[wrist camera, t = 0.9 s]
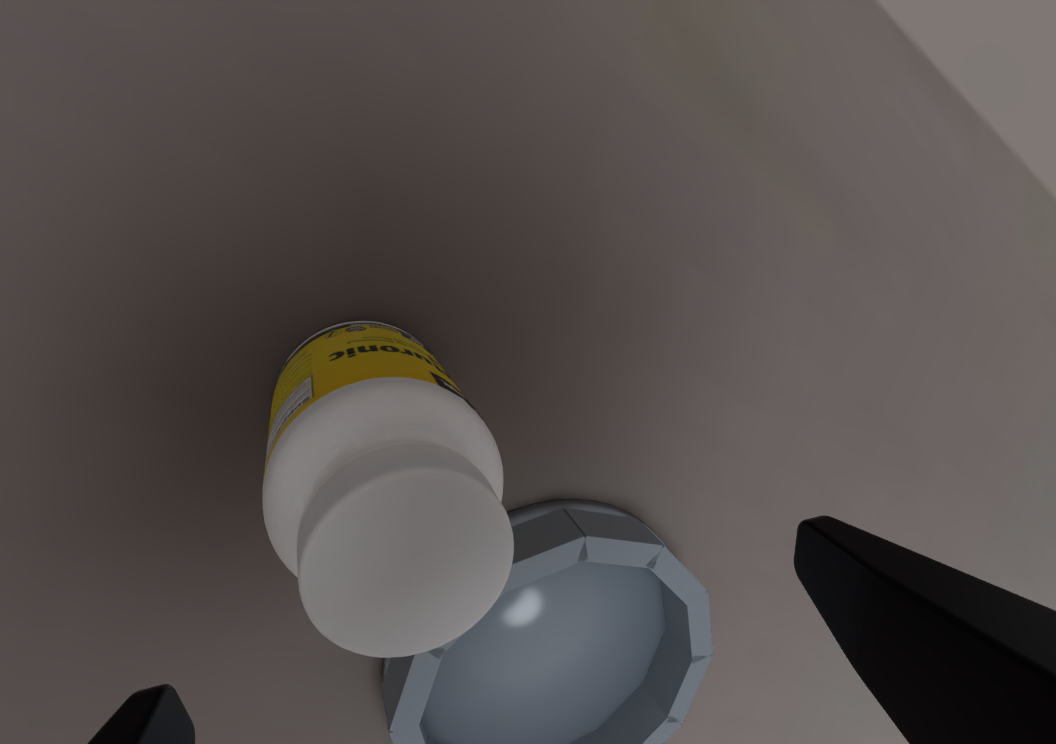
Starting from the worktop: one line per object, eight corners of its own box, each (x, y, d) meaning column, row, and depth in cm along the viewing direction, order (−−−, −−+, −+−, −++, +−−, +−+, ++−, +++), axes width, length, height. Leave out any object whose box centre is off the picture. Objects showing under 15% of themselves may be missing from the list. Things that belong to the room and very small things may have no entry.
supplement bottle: (470, 359, 21) (598, 495, 12) (396, 492, 21) (467, 715, 13) (320, 285, 18) (343, 387, 10) (241, 437, 19) (195, 666, 10)
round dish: (615, 758, 30) (645, 812, 27) (343, 773, 24) (349, 843, 22) (716, 519, 27) (759, 554, 25) (438, 477, 22) (457, 516, 19)
